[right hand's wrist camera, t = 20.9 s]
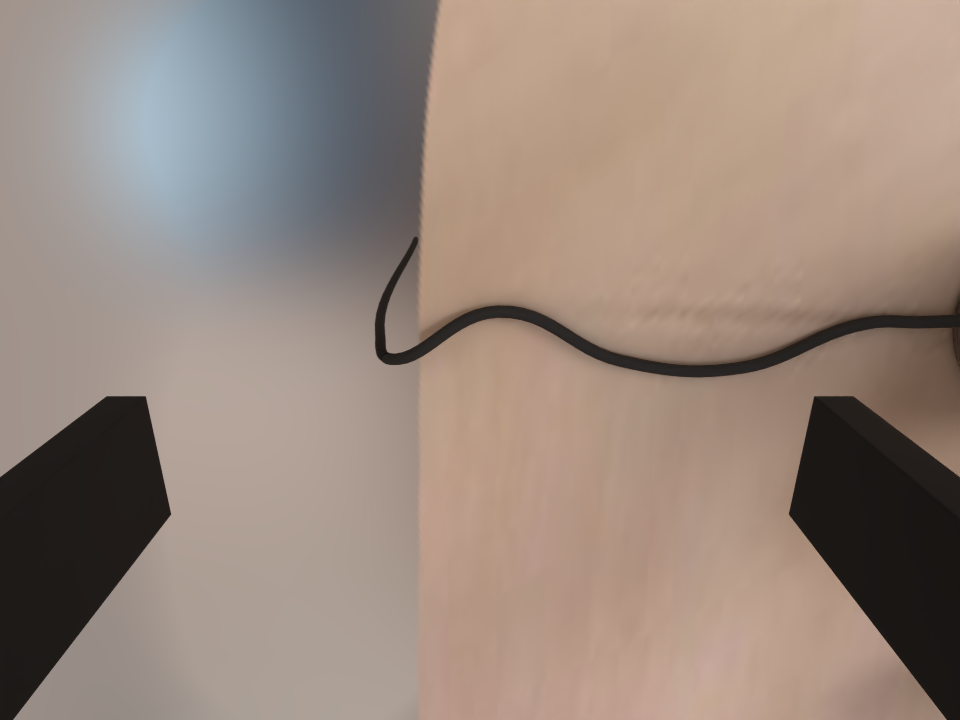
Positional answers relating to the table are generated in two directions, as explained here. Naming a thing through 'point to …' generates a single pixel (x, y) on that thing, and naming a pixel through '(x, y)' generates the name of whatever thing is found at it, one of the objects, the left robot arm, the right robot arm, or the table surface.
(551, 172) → the table surface
